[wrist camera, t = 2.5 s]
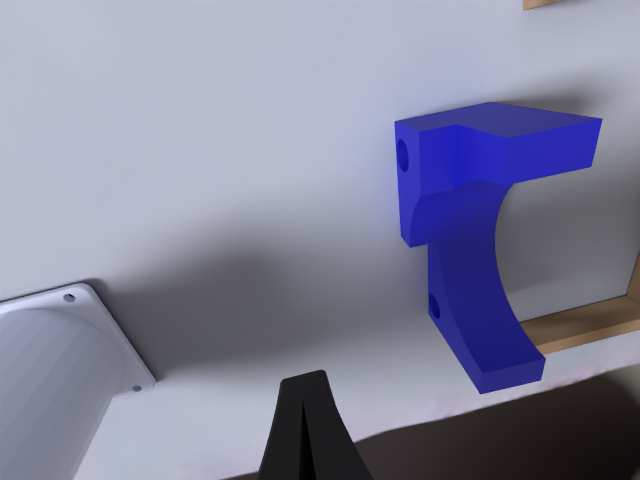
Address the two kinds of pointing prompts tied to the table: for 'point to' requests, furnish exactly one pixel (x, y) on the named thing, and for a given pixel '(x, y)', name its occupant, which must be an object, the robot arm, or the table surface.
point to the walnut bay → (585, 307)
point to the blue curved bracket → (479, 220)
